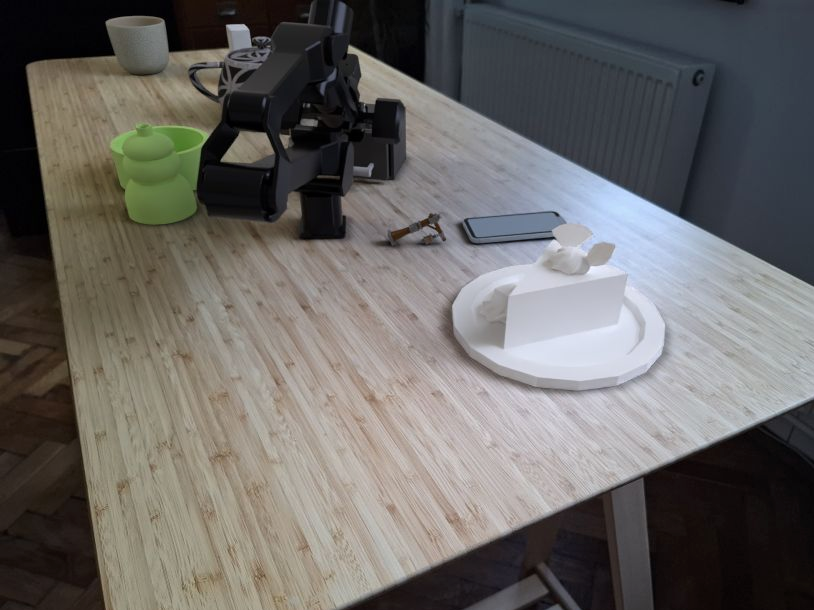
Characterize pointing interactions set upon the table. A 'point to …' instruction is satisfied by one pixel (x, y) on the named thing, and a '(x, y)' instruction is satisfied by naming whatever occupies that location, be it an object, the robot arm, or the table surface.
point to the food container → (159, 171)
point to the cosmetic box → (238, 36)
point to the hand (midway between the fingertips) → (352, 142)
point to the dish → (560, 318)
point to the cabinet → (395, 148)
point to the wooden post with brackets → (415, 227)
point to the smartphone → (512, 226)
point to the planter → (139, 43)
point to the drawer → (371, 159)
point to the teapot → (233, 69)
